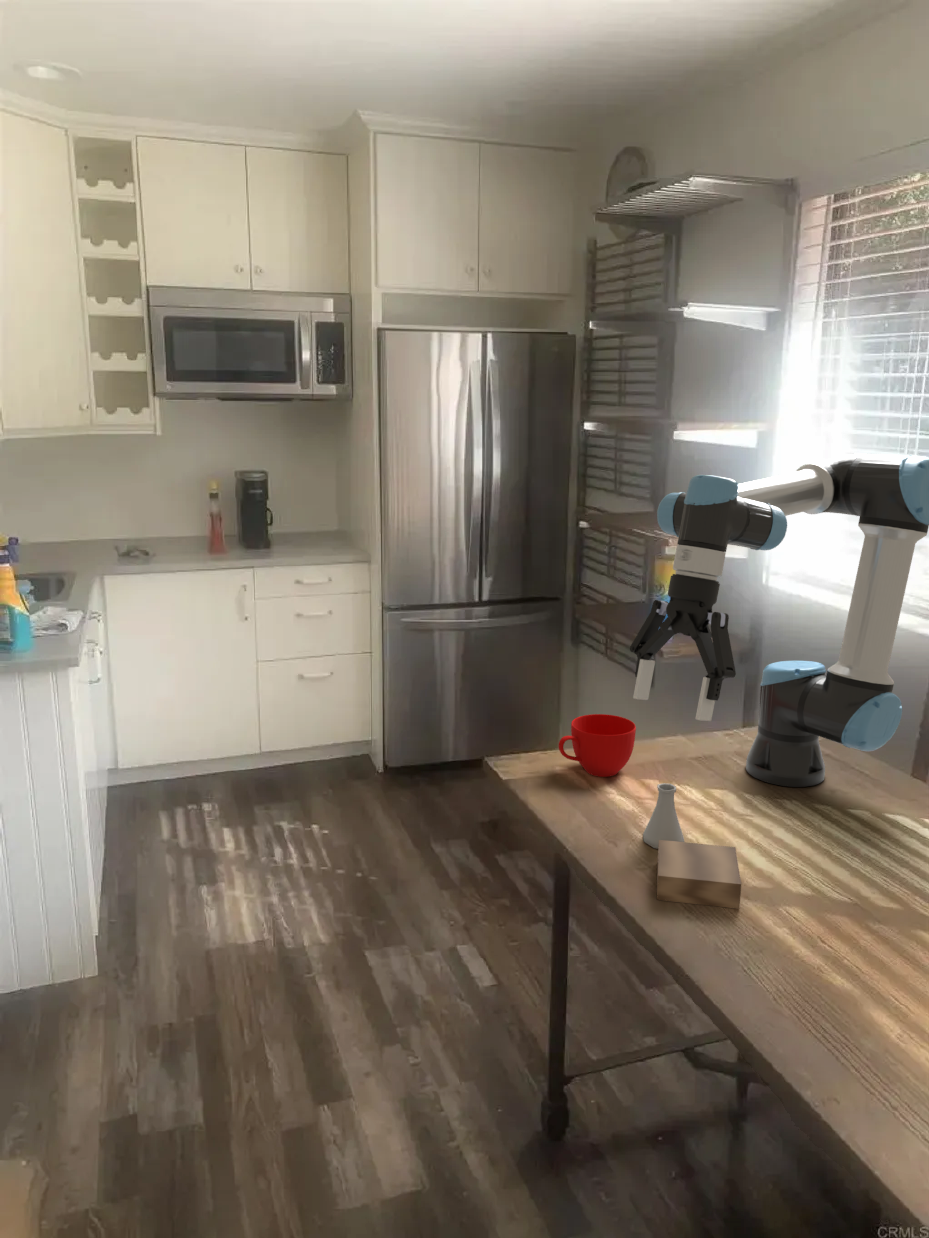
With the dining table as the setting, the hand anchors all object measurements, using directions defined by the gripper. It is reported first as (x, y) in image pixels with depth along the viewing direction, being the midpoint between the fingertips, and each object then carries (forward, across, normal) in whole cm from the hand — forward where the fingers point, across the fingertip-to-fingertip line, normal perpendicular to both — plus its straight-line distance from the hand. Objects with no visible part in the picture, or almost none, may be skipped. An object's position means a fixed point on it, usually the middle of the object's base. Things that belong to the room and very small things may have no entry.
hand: (670, 709), depth 144 cm
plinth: (+26, +8, +5) cm, 27 cm away
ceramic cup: (+21, -36, +20) cm, 46 cm away
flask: (+24, -6, +11) cm, 27 cm away
